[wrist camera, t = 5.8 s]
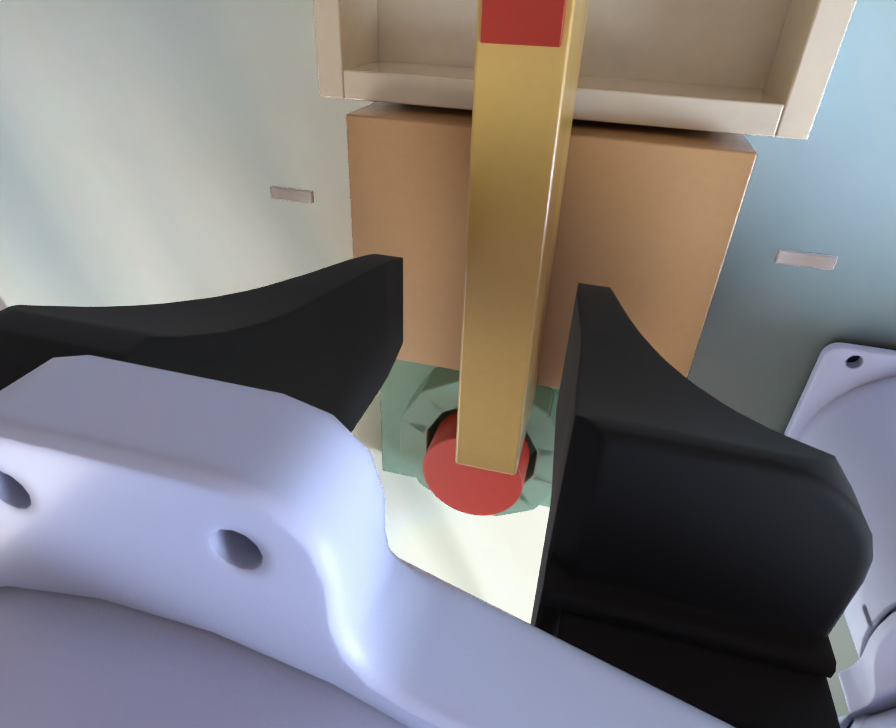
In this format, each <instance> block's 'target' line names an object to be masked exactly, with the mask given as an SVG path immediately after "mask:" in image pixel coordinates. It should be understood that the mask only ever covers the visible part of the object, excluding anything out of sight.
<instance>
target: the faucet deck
mask: <svg viewBox="0 0 896 728" xmlns="http://www.w3.org/2000/svg"><path fill="white" fill-rule="evenodd" d="M346 121H347V141H348V160H349V179H350V198H351V218H352V237H353V256H354V258H357V257H361V256H365V255H370V254H381V255H388V256H395V257H402V258H403V344H402V347H401V349H400V351H399V354H398V356H397V358H396V359H399V360H404V361H410V362H415V363H421V364H426V365H432V366H438V367H443V368H449V369H454V370H460V352H461V332H462V311H463V291H464V271H465V251H466V230H467V210H468V190H469V169H470V149H471V129H472V110H463V109H452V108H440V107H429V106H418V105H407V104H395V103H384V102H375V103H373V104H371V105H368V106H366V107H363V108H361V109H359V110H356V111H354V112H351V113H349V114H347V115H346ZM756 158H757V152H756V151H755V150H754V148H753V147H752V146H751V145H750V143H749V142H748V141H747V139H746V138H745V137H744V136H743V134H732V133H721V132H710V131H699V130H687V129H676V128H665V127H654V126H643V125H631V124H620V123H609V122H598V121H586V120H575V119H573V121H572V128H571V135H570V143H569V150H568V157H567V165H566V172H565V179H564V187H563V194H562V201H561V209H560V216H559V223H558V231H557V238H556V245H555V253H554V260H553V267H552V275H551V282H550V289H549V297H548V304H547V311H546V319H545V326H544V333H543V340H542V348H541V355H540V362H539V370H538V377H537V384H538V385H543V386H549V387H554V388H560V384H561V378H562V372H563V366H564V361H565V355H566V349H567V344H568V338H569V332H570V326H571V321H572V315H573V309H574V303H575V298H576V292H577V287H578V283H583V284H590V285H597V286H604V287H610V288H611V289H612V291H613V292H614V294H615V295H616V297H617V299H618V301H619V302H620V304H621V306H622V307H623V309H624V310H625V312H626V313H627V315H628V317H629V318H630V320H631V321H632V322H633V324H634V325H635V326H636V328H637V329H638V331H639V332H640V333H641V334H642V336H643V337H644V338H645V339H646V340H647V341H648V342H649V343H650V345H651V346H652V347H653V348H654V349H655V350H656V351H657V352H658V353H659V354H660V355H661V356H662V357H663V358H664V359H665V360H666V361H667V362H668V363H669V364H670V365H672V366H673V367H674V368H675V369H676V370H677V371H679V372H680V373H681V374H682V375H683V376H684V377H686V378H687V377H688V374H689V371H690V368H691V364H692V361H693V358H694V355H695V352H696V349H697V345H698V342H699V339H700V336H701V333H702V330H703V326H704V323H705V320H706V317H707V314H708V311H709V307H710V304H711V301H712V298H713V295H714V292H715V288H716V285H717V282H718V279H719V276H720V273H721V269H722V266H723V263H724V260H725V257H726V253H727V250H728V247H729V244H730V241H731V238H732V234H733V231H734V228H735V225H736V222H737V219H738V215H739V212H740V209H741V206H742V203H743V200H744V196H745V193H746V190H747V187H748V184H749V181H750V177H751V174H752V171H753V168H754V165H755V162H756ZM270 189H271V197H272V198H273V199H281V200H289V201H297V202H304V203H313V202H314V195H313V191H310V190H302V189H294V188H286V187H277V186H272V187H270ZM837 259H838V257H837V256H835V255H827V254H819V253H811V252H803V251H795V250H786V249H778V252H777V255H776V258H775V260H774V261H775V263H779V264H787V265H795V266H803V267H811V268H818V269H826V270H833V268H834V266H835V264H836V261H837Z"/></svg>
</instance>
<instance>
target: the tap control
mask: <svg viewBox="0 0 896 728" xmlns="http://www.w3.org/2000/svg"><path fill="white" fill-rule="evenodd" d="M459 372H460V370H454V369H449V368H443V367H438V366H432V365H426V364H421V363H415V362H410V361H404V360H399V359H396V361H395V363H394V365H393V367H392V369H391V371H390V373H389V376H388V377H387V379H386V381H385V382H384V384H383V385H382V387H381V388H380V396H381V431H382V465H383V470H384V471H389V472H393V473H398V474H402V475H407V476H411V477H416V478H417V479H418V481H419V482H420V484H422V485H423V486H425V487H426V488H428V489H429V490H430V488H429V487H428V485H427V483H426V481H425V478H424V474H423V460H424V457H425V455H426V452H427V450H428V448H429V446H430V444H431V441H432V439H433V437H434V435H435V433H436V430H437V428H438V426H439V424H440V423H441V422H442V421H443V420H444V419H445V418H446V417H447V416H449V415H450V414H452V413H454V412H456V411H458V393H459ZM559 389H560V388H554V387H549V386H543V385H538V384H536V392H535V398H534V402H533V406H532V410H531V415H530V419H529V423H528V427H527V431H526V435H525V437H526V439H527V442H528V445H529V449H530V458H529V463H528V467H527V472H526V476H525V481H524V485H523V489H522V493H521V495H520V498H519V499H518V500H517V502H516V503H515V504H514V505H513V506H512V507H510V508H509V509H507V510H505V511H503V512H501V513H498V514H493V516H494V515H495V516H499V515H505V514H511V513H517V512H522V511H528V510H533V509H535V508H536V507H537V506H538V505H543V506H547V507H550V502H551V493H552V475H553V457H554V438H555V421H556V407H557V401H558V395H559Z"/></svg>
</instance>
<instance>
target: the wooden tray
mask: <svg viewBox="0 0 896 728" xmlns="http://www.w3.org/2000/svg"><path fill="white" fill-rule="evenodd" d="M856 2H857V0H589V4H588V11H587V18H586V26H585V33H584V40H583V48H582V55H581V62H580V69H579V77H578V84H577V91H576V99H575V106H574V113H573V119H575V120H586V121H598V122H609V123H620V124H631V125H643V126H654V127H665V128H676V129H687V130H699V131H710V132H721V133H732V134H744V135H755V136H766V137H774V136H775V137H778V138H789V139H800V140H806V139H808V137H809V135H810V132H811V129H812V126H813V123H814V120H815V118H816V115H817V112H818V109H819V106H820V104H821V101H822V98H823V95H824V92H825V90H826V87H827V84H828V81H829V78H830V75H831V73H832V70H833V67H834V64H835V61H836V59H837V56H838V53H839V50H840V47H841V45H842V42H843V39H844V36H845V33H846V30H847V28H848V25H849V22H850V19H851V16H852V14H853V11H854V8H855V5H856ZM313 5H314V19H315V32H316V46H317V60H318V73H319V87H320V96H321V97H328V98H339V99H344V98H345V99H350V100H362V101H373V102H384V103H395V104H407V105H418V106H429V107H440V108H452V109H463V110H472V109H473V88H474V68H475V48H476V28H477V7H478V0H313Z"/></svg>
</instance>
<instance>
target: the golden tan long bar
mask: <svg viewBox="0 0 896 728" xmlns="http://www.w3.org/2000/svg"><path fill="white" fill-rule="evenodd" d="M588 4H589V0H478V7H477V28H476V48H475V68H474V88H473V109H472V129H471V149H470V169H469V190H468V210H467V230H466V251H465V271H464V291H463V311H462V332H461V352H460V372H459V393H458V413H457V433H456V453H455V462H456V463H457V464H462V465H467V466H471V467H476V468H481V469H486V470H491V471H496V472H501V473H505V474H510V475H515V474H516V472H517V468H518V464H519V459H520V455H521V451H522V447H523V443H524V439H525V435H526V431H527V427H528V423H529V419H530V415H531V410H532V406H533V402H534V398H535V392H536V384H537V377H538V370H539V362H540V355H541V348H542V340H543V333H544V326H545V319H546V311H547V304H548V297H549V289H550V282H551V275H552V267H553V260H554V253H555V245H556V238H557V231H558V223H559V216H560V209H561V201H562V194H563V187H564V179H565V172H566V165H567V157H568V150H569V143H570V135H571V128H572V121H573V113H574V106H575V99H576V91H577V84H578V77H579V69H580V62H581V55H582V48H583V40H584V33H585V26H586V18H587V11H588Z"/></svg>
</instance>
